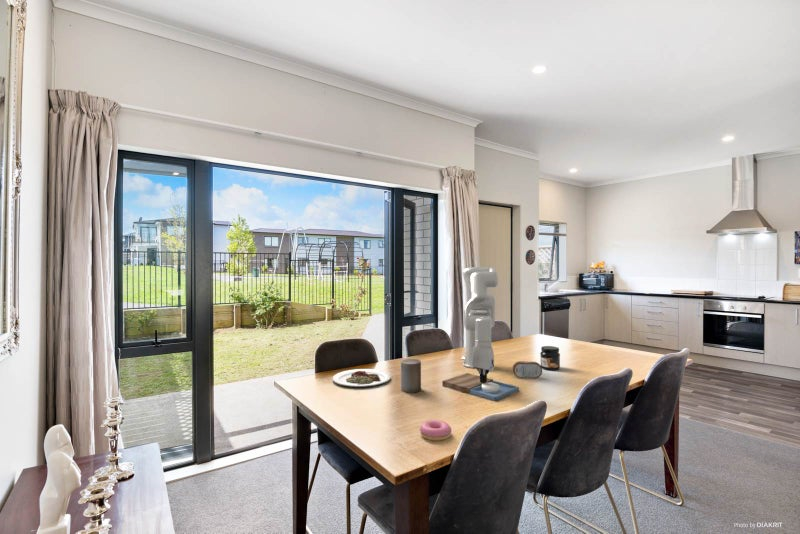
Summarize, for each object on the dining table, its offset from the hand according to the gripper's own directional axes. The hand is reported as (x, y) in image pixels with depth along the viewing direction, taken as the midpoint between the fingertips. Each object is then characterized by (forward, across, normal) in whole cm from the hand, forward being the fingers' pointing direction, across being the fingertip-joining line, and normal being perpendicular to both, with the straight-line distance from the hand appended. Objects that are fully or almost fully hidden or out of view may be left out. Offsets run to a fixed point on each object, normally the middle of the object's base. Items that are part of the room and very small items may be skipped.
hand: (483, 382), depth 186 cm
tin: (+4, +5, +33) cm, 34 cm away
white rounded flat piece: (+2, +4, 0) cm, 5 cm away
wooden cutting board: (+4, -9, 0) cm, 10 cm away
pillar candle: (+4, -24, -25) cm, 35 cm away
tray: (+4, +6, 0) cm, 7 cm away
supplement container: (+4, +5, +59) cm, 59 cm away
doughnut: (+4, +17, -54) cm, 57 cm away
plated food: (+4, -53, -32) cm, 62 cm away
